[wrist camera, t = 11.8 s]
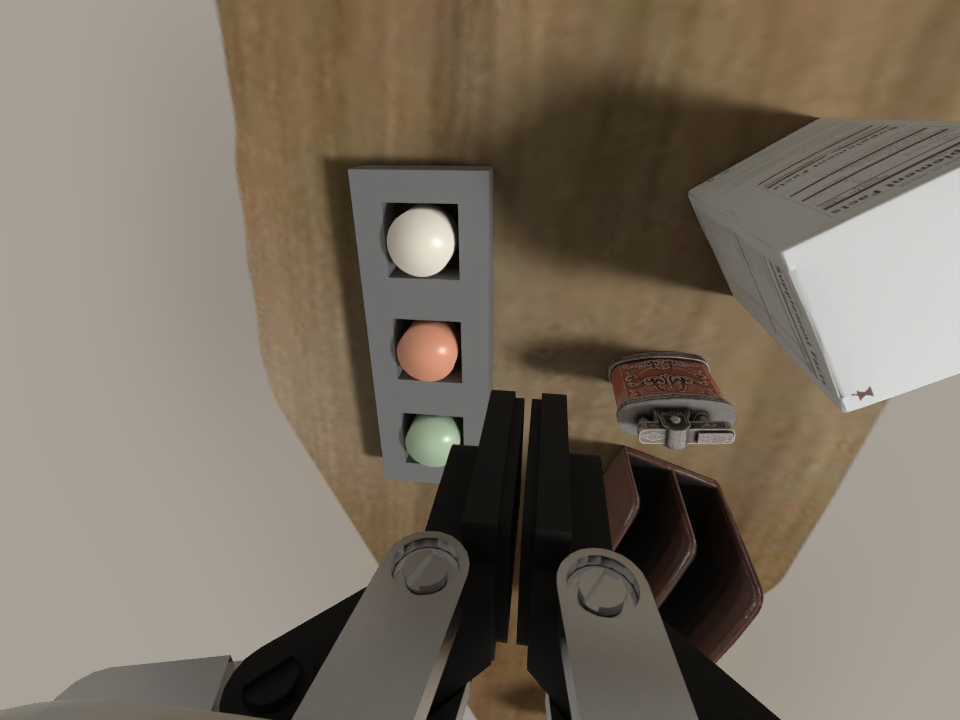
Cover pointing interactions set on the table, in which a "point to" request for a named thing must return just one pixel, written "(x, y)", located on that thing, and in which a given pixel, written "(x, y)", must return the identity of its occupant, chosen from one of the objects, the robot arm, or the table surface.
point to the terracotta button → (429, 349)
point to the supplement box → (848, 251)
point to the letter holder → (683, 548)
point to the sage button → (433, 438)
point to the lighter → (670, 400)
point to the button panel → (426, 302)
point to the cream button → (423, 240)
